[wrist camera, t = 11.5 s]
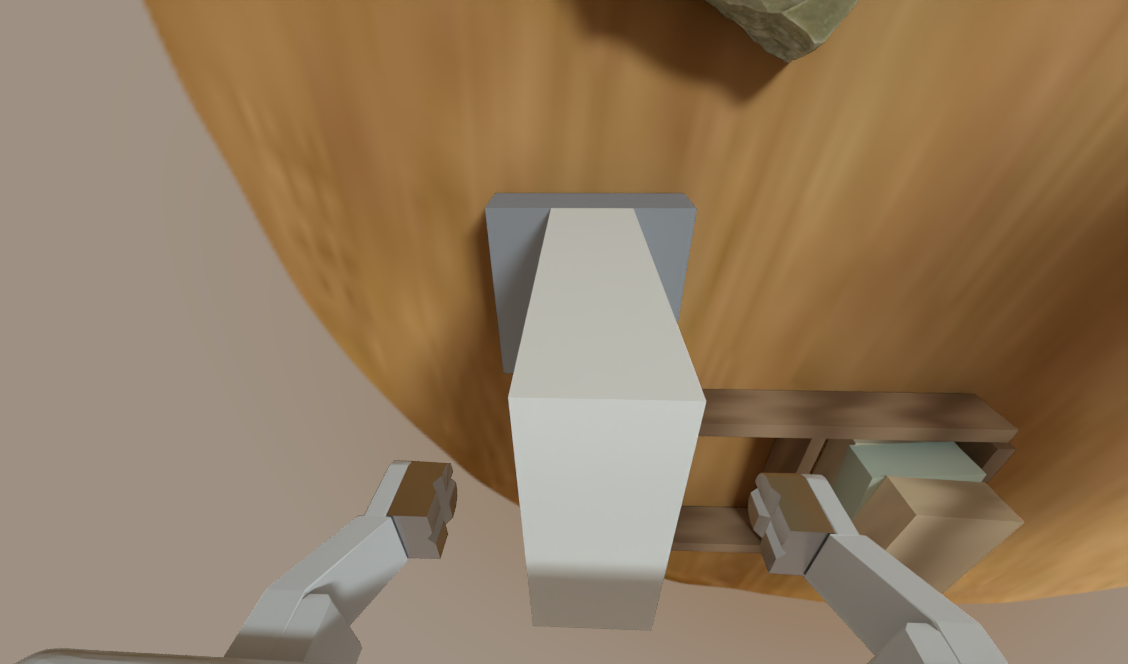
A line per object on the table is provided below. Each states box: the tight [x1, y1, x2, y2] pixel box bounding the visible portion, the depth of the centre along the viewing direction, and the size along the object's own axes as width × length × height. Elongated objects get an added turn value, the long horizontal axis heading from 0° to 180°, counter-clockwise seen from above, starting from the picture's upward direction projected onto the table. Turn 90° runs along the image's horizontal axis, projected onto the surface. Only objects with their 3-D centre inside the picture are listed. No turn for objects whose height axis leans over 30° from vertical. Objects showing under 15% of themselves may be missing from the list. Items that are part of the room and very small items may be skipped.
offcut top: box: [852, 476, 1025, 594], centre depth 24 cm, size 6×8×2 cm
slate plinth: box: [485, 193, 697, 373], centre depth 21 cm, size 9×9×2 cm
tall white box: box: [508, 208, 706, 631], centre depth 15 cm, size 4×9×12 cm, turn 1°
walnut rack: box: [671, 389, 1019, 553], centre depth 27 cm, size 20×13×4 cm, turn 90°
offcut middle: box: [832, 441, 987, 521], centre depth 26 cm, size 6×8×2 cm
